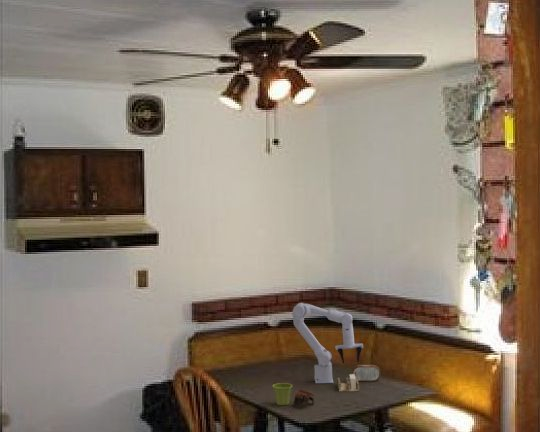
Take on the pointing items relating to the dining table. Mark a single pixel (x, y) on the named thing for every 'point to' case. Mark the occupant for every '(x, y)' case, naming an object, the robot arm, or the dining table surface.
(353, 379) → the tile
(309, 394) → the pottery mug
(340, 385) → the rack
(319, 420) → the dining table surface
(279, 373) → the dining table surface
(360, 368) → the tin
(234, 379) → the dining table surface
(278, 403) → the plant pot
